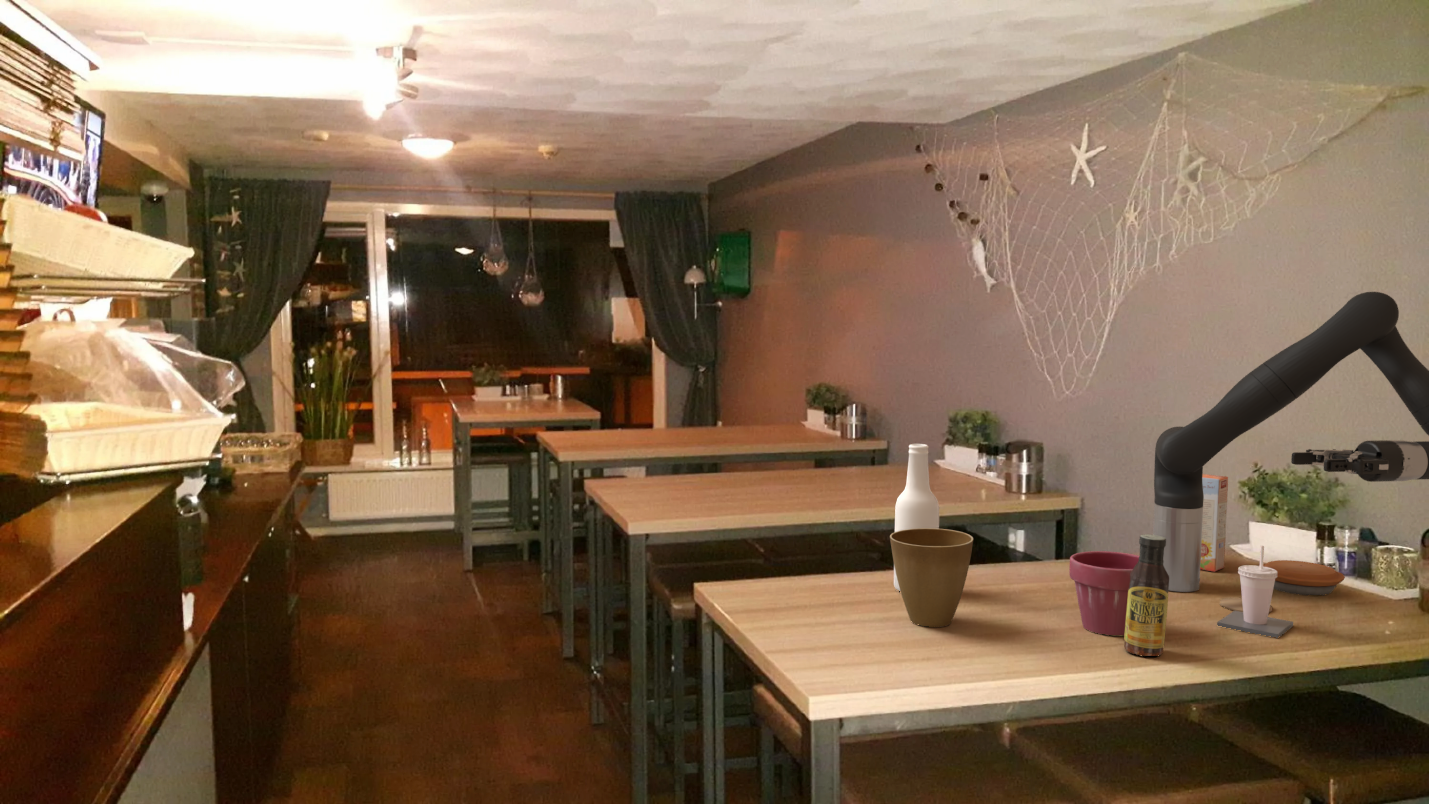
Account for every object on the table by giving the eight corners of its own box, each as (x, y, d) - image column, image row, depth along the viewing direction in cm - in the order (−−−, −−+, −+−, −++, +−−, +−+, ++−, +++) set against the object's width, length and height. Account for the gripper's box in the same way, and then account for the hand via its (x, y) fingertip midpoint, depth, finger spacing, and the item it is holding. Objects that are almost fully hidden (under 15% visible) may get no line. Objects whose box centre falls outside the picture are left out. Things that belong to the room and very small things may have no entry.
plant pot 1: (918, 605, 199) (920, 524, 198) (986, 621, 189) (989, 536, 187) (872, 621, 189) (873, 535, 187) (941, 639, 178) (943, 549, 177)
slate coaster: (1217, 626, 187) (1217, 622, 187) (1234, 614, 194) (1234, 610, 194) (1277, 638, 180) (1277, 634, 180) (1293, 625, 187) (1293, 621, 187)
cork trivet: (1211, 605, 200) (1211, 602, 200) (1233, 597, 205) (1233, 594, 205) (1258, 616, 193) (1258, 613, 193) (1280, 608, 198) (1280, 605, 198)
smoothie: (1280, 627, 183) (1284, 550, 182) (1241, 625, 185) (1245, 548, 183) (1268, 617, 190) (1272, 542, 188) (1231, 615, 191) (1234, 541, 190)
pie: (1240, 583, 217) (1241, 560, 217) (1293, 576, 223) (1294, 553, 222) (1306, 602, 203) (1307, 577, 202) (1361, 594, 208) (1362, 570, 208)
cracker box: (1225, 568, 229) (1229, 475, 227) (1215, 573, 225) (1219, 478, 223) (1161, 557, 239) (1165, 468, 237) (1151, 561, 235) (1155, 471, 233)
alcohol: (904, 597, 204) (907, 448, 202) (886, 585, 213) (889, 442, 210) (944, 594, 207) (948, 447, 204) (925, 583, 215) (929, 441, 212)
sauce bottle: (1123, 655, 170) (1128, 538, 169) (1123, 644, 176) (1128, 530, 174) (1166, 661, 168) (1171, 541, 166) (1165, 649, 174) (1170, 534, 172)
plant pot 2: (1050, 622, 189) (1052, 553, 188) (1108, 613, 194) (1111, 547, 193) (1108, 645, 176) (1111, 572, 174) (1169, 635, 181) (1172, 564, 180)
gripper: (1362, 435, 195) (1283, 436, 193) (1422, 445, 181) (1338, 446, 179) (1360, 474, 195) (1281, 476, 193) (1420, 487, 181) (1335, 489, 179)
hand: (1308, 461), depth 186 cm, fingers open, 8 cm apart
